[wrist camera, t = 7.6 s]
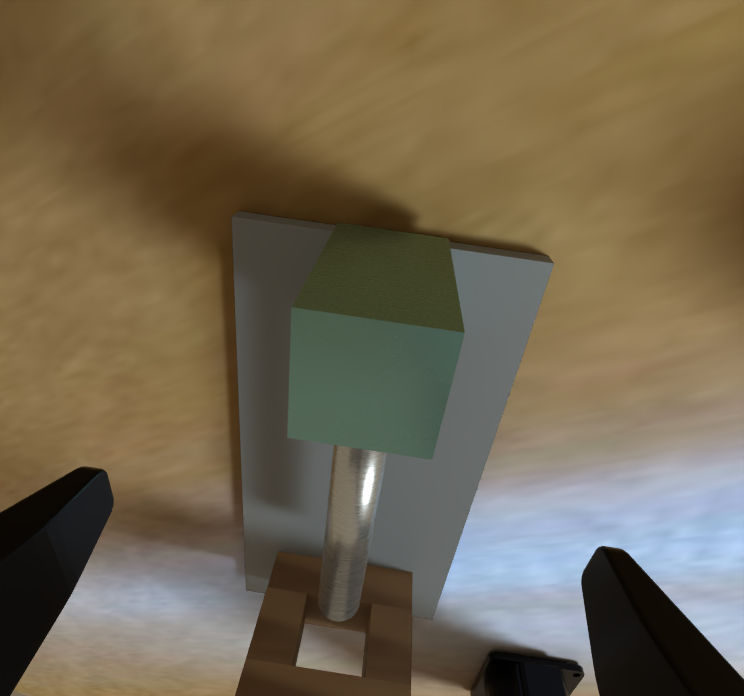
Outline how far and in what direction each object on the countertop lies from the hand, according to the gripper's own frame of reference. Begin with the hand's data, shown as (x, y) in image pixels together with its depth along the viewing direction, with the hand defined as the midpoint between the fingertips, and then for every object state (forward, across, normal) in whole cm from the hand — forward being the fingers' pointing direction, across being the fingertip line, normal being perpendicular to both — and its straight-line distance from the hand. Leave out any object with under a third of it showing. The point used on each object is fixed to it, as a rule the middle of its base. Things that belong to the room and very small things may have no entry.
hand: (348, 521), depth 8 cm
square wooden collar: (+12, 0, +19) cm, 23 cm away
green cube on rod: (+11, 0, +6) cm, 13 cm away
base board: (+12, 0, +10) cm, 16 cm away
